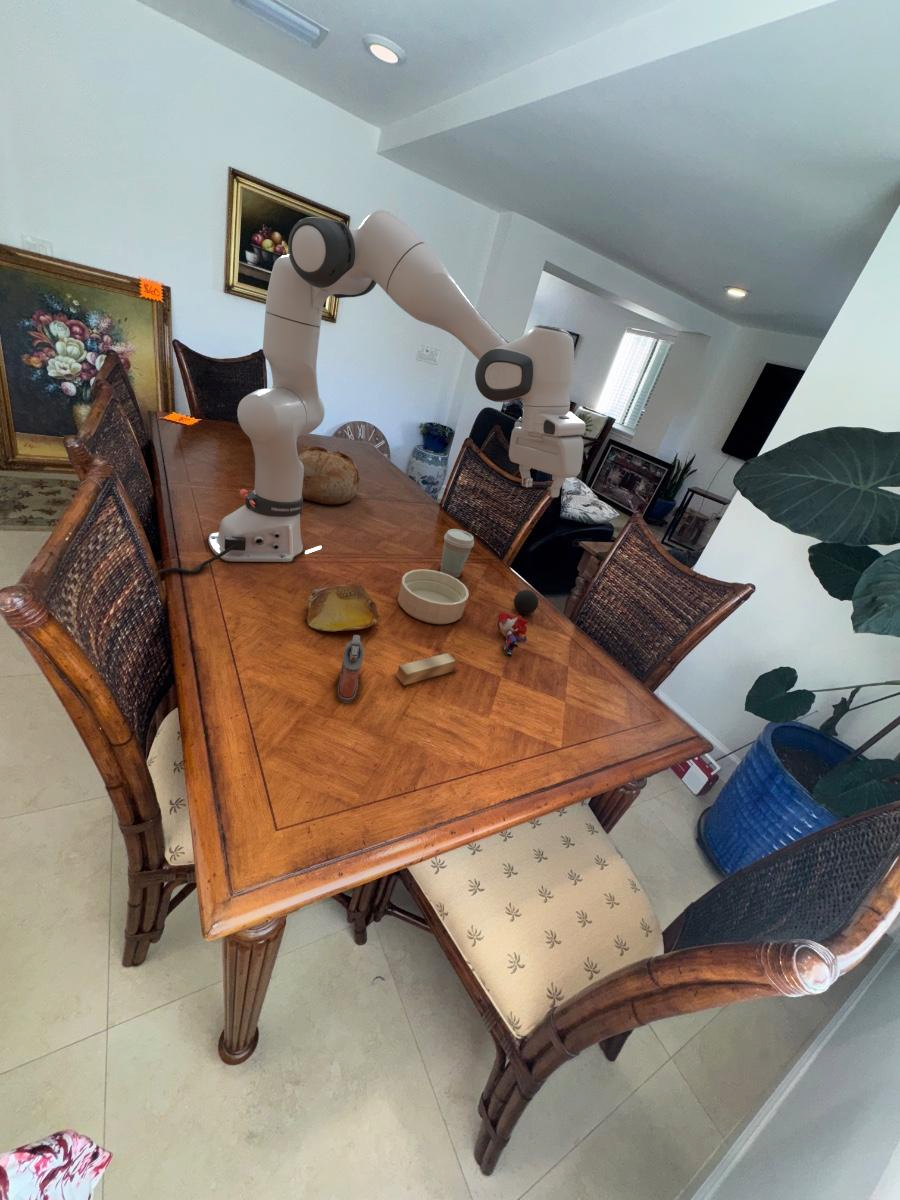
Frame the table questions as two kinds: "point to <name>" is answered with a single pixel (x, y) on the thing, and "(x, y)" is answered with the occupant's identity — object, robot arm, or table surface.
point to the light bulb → (526, 601)
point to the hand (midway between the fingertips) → (539, 491)
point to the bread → (328, 476)
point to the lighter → (350, 670)
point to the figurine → (512, 630)
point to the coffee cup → (456, 551)
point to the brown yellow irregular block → (341, 608)
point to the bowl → (432, 596)
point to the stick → (425, 668)
